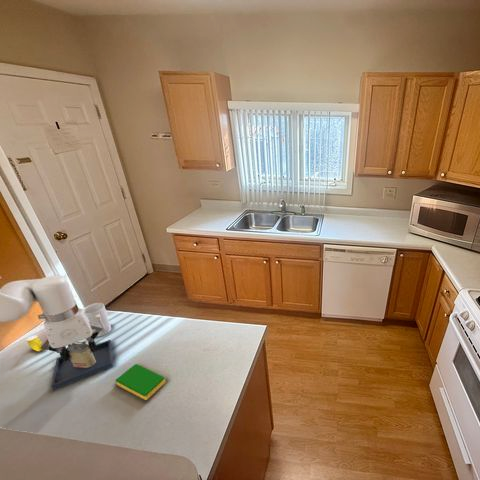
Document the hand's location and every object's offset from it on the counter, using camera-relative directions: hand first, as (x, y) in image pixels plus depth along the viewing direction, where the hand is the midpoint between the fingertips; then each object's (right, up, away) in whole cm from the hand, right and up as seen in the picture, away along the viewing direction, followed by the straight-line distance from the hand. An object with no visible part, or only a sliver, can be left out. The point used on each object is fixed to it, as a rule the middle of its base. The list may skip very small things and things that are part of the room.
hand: (80, 352), depth 89 cm
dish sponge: (+24, -9, -3) cm, 26 cm away
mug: (-6, +1, +16) cm, 17 cm away
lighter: (0, -5, +2) cm, 5 cm away
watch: (-22, -2, +7) cm, 23 cm away
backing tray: (0, -5, +2) cm, 6 cm away
